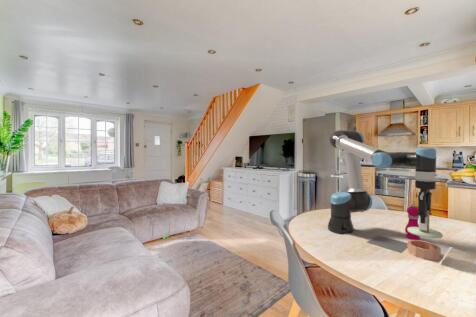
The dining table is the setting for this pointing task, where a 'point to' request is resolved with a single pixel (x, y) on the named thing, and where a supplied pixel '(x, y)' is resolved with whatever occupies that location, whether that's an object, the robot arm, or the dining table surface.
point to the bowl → (424, 249)
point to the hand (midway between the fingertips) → (424, 228)
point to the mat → (388, 243)
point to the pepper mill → (412, 222)
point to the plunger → (424, 233)
